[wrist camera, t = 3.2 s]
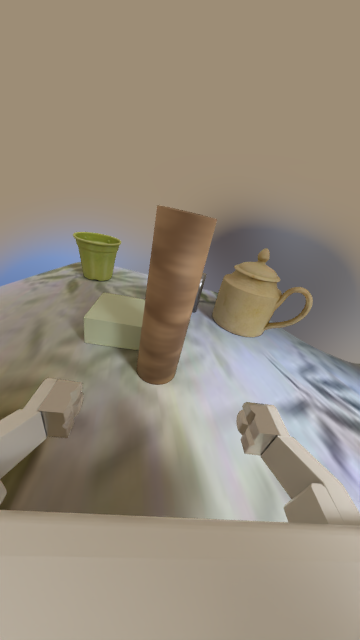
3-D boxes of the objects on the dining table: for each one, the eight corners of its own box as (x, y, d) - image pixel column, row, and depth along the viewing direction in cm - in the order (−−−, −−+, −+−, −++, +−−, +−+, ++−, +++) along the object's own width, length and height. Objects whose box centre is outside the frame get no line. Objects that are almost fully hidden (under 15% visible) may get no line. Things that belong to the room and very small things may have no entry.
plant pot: (101, 267, 52) (101, 232, 48) (127, 279, 48) (130, 242, 44) (66, 272, 45) (63, 231, 40) (94, 287, 41) (94, 244, 37)
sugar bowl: (276, 322, 45) (312, 256, 38) (288, 351, 36) (339, 270, 28) (213, 304, 47) (235, 237, 39) (208, 326, 37) (236, 244, 30)
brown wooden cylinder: (175, 358, 28) (211, 217, 19) (175, 387, 24) (222, 222, 14) (139, 353, 27) (159, 204, 18) (133, 381, 23) (154, 206, 14)
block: (150, 321, 35) (153, 301, 33) (143, 351, 28) (147, 327, 26) (103, 313, 34) (103, 292, 32) (84, 342, 27) (83, 317, 25)
